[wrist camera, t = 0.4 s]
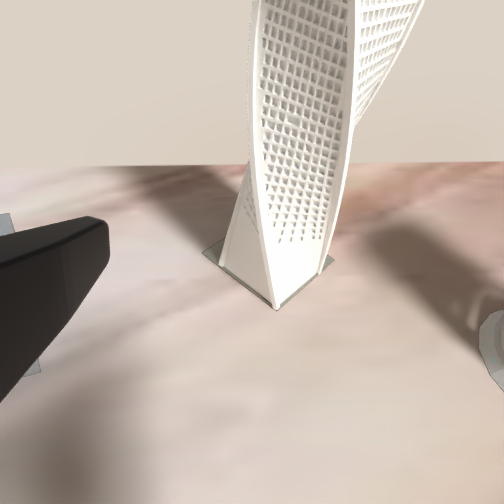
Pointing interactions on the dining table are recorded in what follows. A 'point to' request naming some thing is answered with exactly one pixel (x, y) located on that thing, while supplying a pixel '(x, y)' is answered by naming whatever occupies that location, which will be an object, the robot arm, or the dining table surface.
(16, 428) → the dining table surface
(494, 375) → the french press
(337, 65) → the skyscraper
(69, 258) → the robot arm
